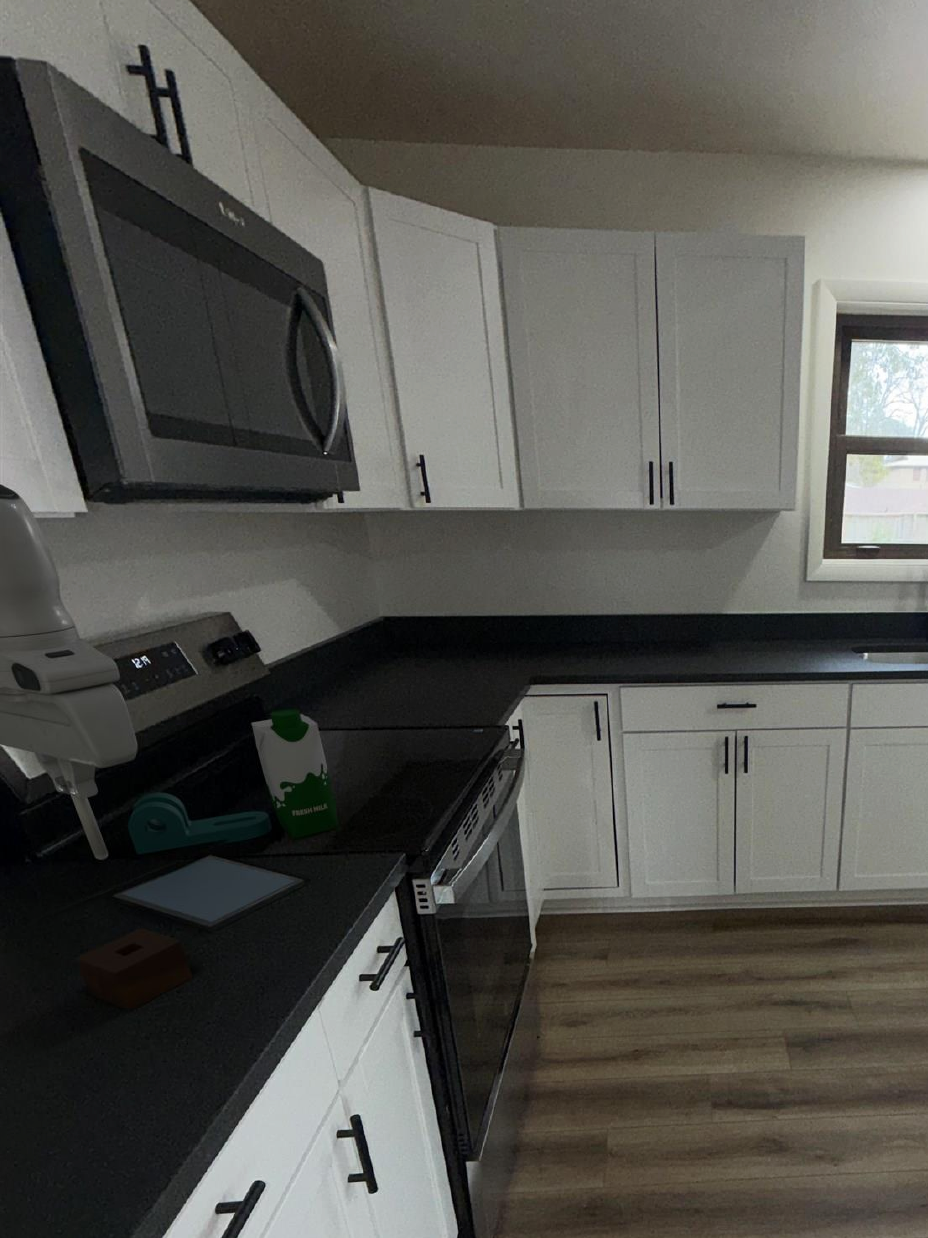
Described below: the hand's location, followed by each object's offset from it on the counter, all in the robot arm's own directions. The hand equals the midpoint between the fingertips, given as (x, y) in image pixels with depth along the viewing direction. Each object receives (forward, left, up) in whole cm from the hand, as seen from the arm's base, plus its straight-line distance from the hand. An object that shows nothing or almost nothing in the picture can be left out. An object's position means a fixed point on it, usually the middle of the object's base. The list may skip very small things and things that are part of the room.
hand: (78, 793), depth 81 cm
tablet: (-12, +16, -23) cm, 30 cm away
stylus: (0, 0, -8) cm, 8 cm away
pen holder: (+2, -2, -23) cm, 23 cm away
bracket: (-30, +28, -23) cm, 47 cm away
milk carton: (-19, +38, -23) cm, 48 cm away
